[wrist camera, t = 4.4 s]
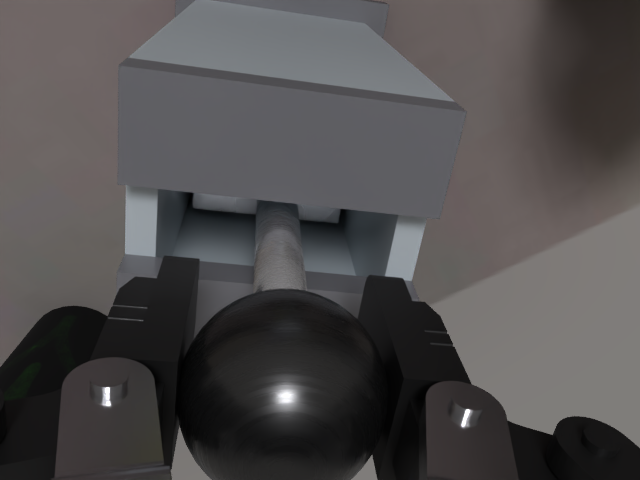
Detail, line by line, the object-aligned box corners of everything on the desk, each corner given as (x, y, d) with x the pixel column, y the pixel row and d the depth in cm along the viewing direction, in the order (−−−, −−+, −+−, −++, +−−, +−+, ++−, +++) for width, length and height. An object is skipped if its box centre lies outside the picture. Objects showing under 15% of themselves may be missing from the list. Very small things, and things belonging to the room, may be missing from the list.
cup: (91, 412, 40) (27, 586, 29) (-13, 347, 37) (-126, 512, 27) (168, 341, 38) (129, 499, 27) (64, 266, 35) (-24, 409, 25)
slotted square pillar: (385, 2, 30) (518, 75, 14) (351, 190, 35) (424, 409, 18) (179, -30, 29) (69, 11, 13) (170, 170, 33) (79, 387, 17)
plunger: (360, 75, 23) (530, 325, 8) (336, 215, 26) (432, 605, 11) (204, 53, 22) (75, 286, 7) (194, 200, 25) (84, 597, 10)
